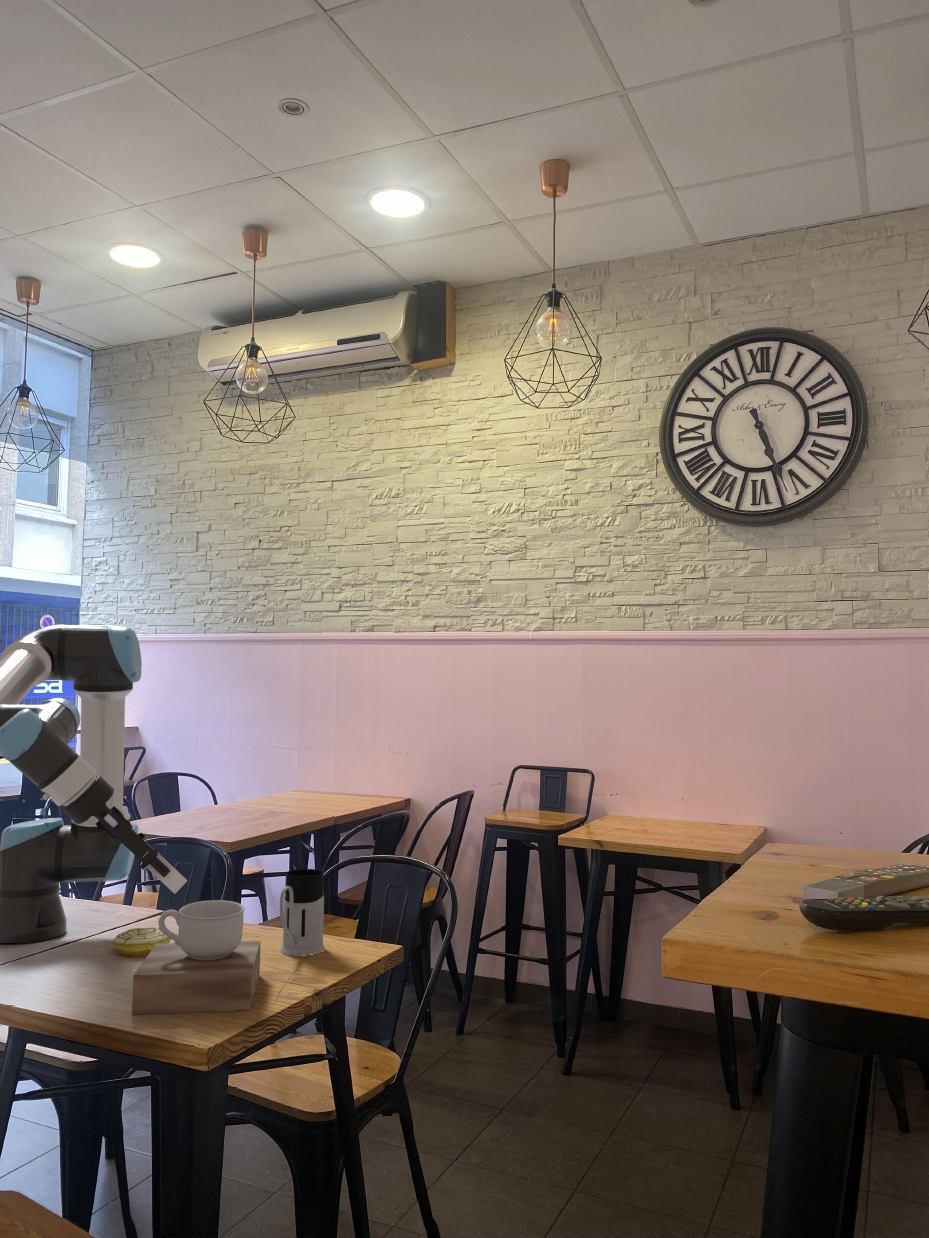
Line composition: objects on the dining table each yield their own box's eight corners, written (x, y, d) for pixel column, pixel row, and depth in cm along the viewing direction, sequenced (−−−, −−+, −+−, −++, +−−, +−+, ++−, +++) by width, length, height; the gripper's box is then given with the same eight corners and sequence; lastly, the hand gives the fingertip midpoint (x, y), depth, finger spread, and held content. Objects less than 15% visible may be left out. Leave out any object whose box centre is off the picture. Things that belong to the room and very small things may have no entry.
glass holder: (332, 946, 176) (334, 869, 178) (300, 966, 163) (303, 883, 164) (292, 942, 179) (294, 867, 180) (258, 961, 165) (260, 880, 167)
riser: (154, 978, 154) (156, 943, 155) (259, 975, 157) (260, 940, 158) (131, 1014, 137) (133, 974, 137) (250, 1009, 139) (251, 970, 140)
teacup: (251, 947, 153) (252, 900, 154) (230, 966, 142) (232, 915, 143) (173, 945, 154) (175, 898, 155) (146, 963, 143) (149, 913, 144)
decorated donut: (165, 941, 179) (166, 922, 180) (174, 954, 170) (175, 934, 170) (111, 947, 175) (112, 927, 175) (116, 961, 165) (117, 940, 166)
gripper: (54, 799, 150) (142, 882, 156) (67, 818, 128) (169, 913, 134) (89, 767, 153) (174, 849, 159) (108, 780, 131) (206, 874, 137)
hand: (172, 878), depth 146 cm, fingers open, 13 cm apart
